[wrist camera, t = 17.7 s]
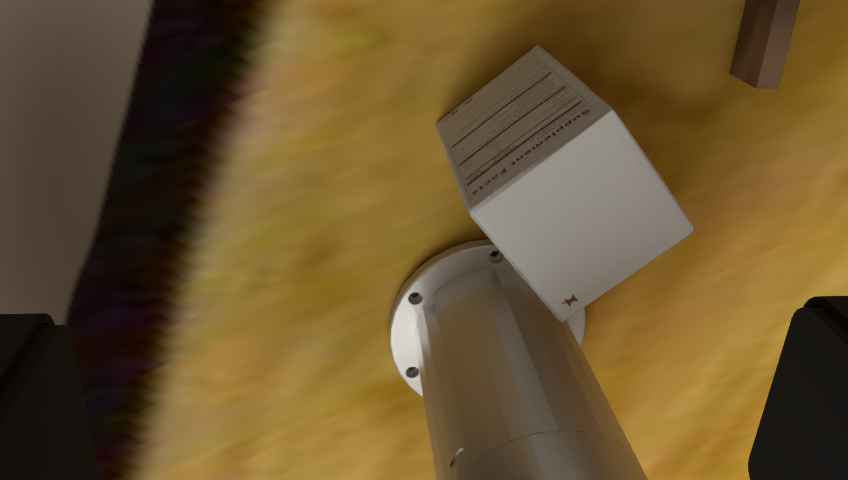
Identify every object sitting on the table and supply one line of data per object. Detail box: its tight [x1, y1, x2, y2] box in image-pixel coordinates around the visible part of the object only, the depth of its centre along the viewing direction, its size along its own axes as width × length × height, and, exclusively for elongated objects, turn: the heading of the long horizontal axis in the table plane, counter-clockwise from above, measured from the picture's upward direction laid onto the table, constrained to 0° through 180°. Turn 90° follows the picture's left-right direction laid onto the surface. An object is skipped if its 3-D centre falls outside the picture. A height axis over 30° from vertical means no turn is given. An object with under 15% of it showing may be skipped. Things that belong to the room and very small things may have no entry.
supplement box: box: [436, 45, 694, 322], centre depth 37 cm, size 7×7×13 cm
